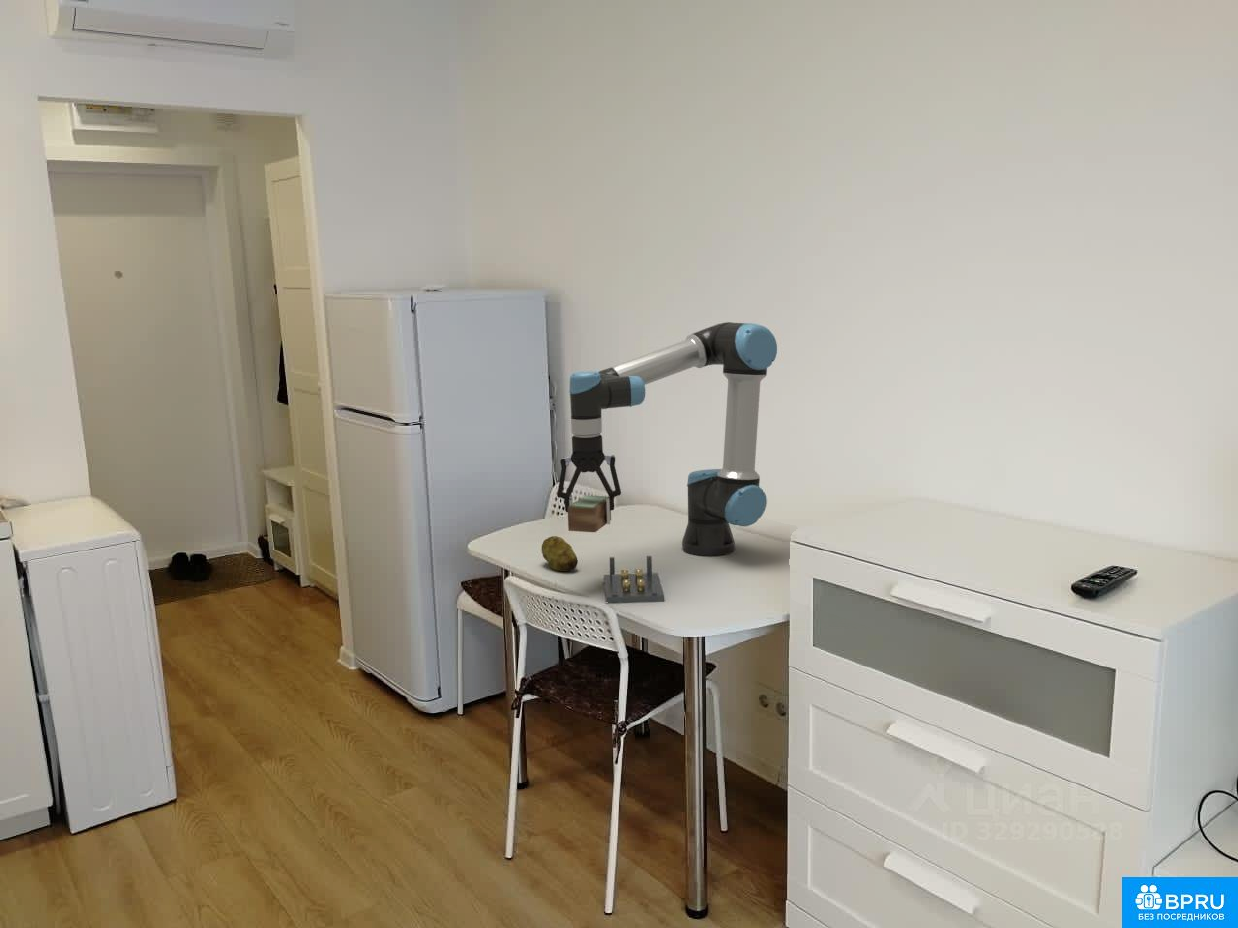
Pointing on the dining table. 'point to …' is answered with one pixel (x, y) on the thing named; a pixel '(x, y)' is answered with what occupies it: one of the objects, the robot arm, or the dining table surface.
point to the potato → (559, 554)
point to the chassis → (632, 585)
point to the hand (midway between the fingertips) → (590, 523)
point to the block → (588, 514)
